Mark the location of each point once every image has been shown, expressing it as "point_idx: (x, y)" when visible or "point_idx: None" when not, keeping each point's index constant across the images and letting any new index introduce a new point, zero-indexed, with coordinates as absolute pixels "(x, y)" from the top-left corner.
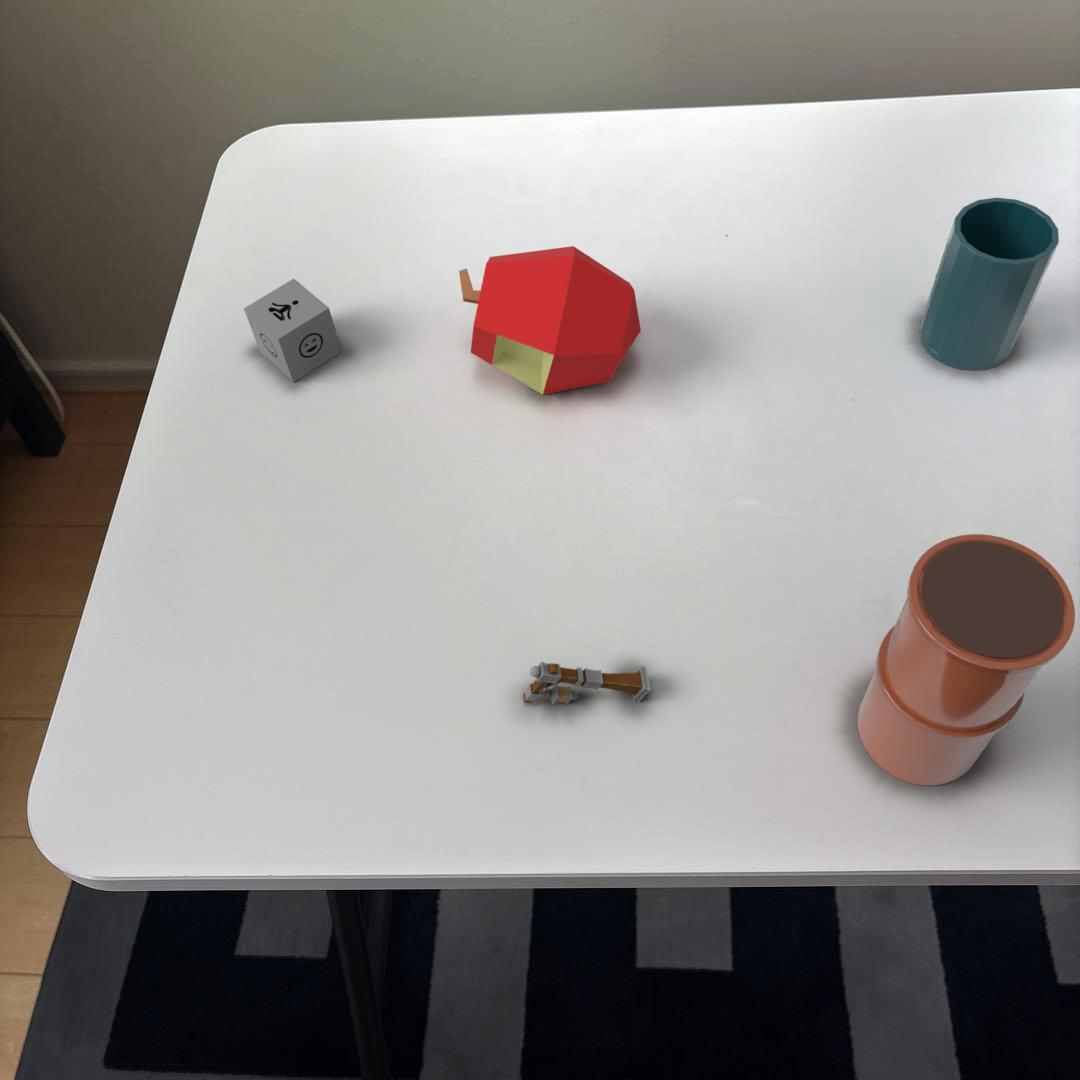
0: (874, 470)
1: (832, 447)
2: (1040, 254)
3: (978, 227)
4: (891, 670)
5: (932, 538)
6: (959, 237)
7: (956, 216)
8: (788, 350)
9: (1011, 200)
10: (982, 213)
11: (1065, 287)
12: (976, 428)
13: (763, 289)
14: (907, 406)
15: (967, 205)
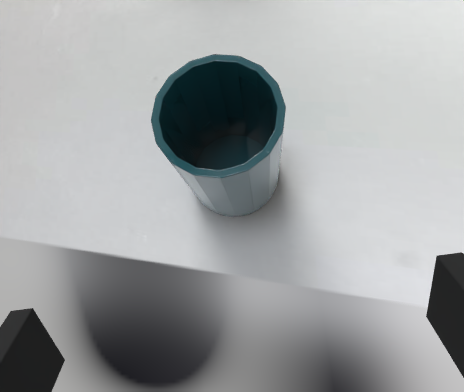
0: (81, 94)
1: (105, 64)
2: (168, 149)
3: (272, 113)
4: None
5: (14, 133)
6: (200, 59)
7: (241, 57)
8: (211, 29)
9: (280, 124)
10: (272, 102)
11: (319, 282)
12: (122, 174)
13: (287, 7)
14: (148, 120)
15: (264, 70)
